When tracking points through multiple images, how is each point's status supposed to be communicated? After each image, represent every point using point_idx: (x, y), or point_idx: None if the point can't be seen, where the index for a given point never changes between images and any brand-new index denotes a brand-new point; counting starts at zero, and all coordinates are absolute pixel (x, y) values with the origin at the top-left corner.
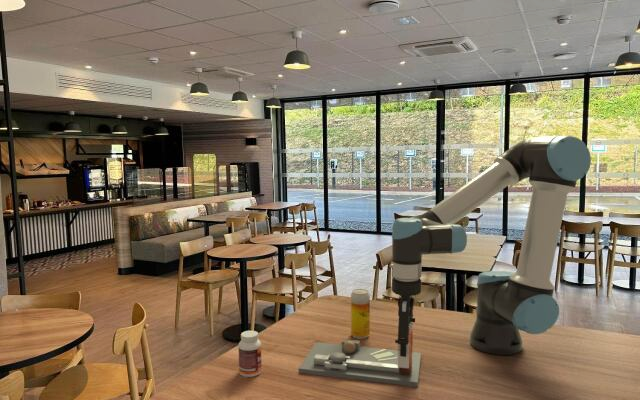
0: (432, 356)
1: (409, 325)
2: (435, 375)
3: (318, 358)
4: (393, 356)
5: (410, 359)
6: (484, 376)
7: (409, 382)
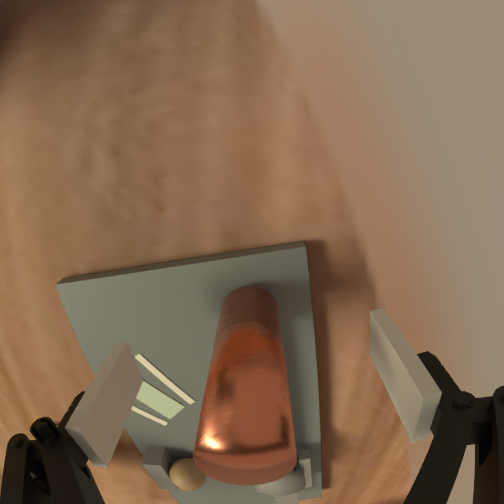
0: (40, 240)
1: (91, 433)
2: (175, 193)
3: (297, 499)
4: None
5: (265, 323)
6: (111, 26)
7: (308, 276)
